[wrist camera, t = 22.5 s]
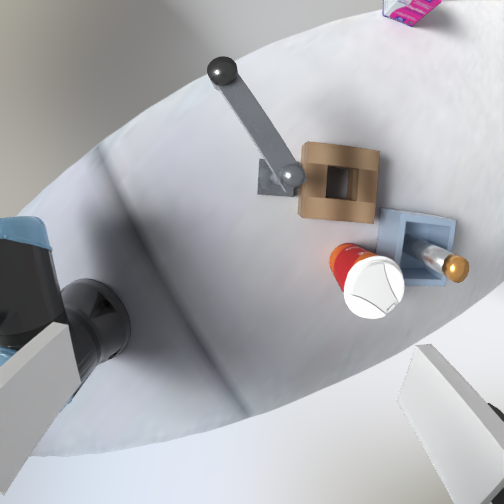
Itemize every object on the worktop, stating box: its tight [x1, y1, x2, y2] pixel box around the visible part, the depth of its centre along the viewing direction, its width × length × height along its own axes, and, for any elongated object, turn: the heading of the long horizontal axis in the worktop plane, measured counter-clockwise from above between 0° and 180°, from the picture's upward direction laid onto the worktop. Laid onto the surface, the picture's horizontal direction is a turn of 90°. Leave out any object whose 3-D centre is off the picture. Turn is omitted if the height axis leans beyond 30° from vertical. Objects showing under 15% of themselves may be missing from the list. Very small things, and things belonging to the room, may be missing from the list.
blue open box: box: [376, 208, 456, 286], centre depth 42 cm, size 10×10×7 cm
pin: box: [402, 234, 469, 283], centre depth 37 cm, size 3×3×15 cm
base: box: [257, 159, 294, 197], centre depth 43 cm, size 5×5×1 cm
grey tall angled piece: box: [207, 57, 307, 192], centre depth 31 cm, size 13×2×20 cm, turn 32°
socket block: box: [298, 142, 379, 224], centre depth 41 cm, size 10×10×5 cm
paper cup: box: [330, 243, 404, 319], centre depth 39 cm, size 8×8×14 cm
